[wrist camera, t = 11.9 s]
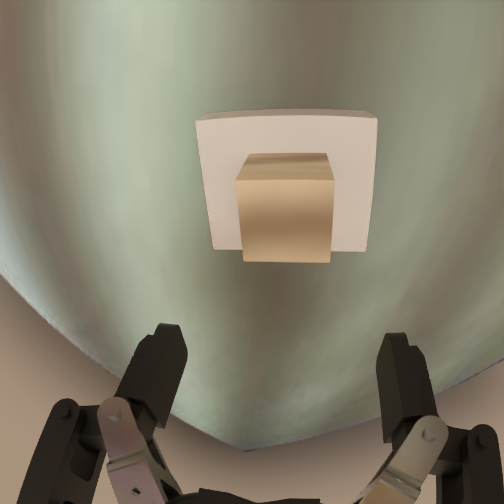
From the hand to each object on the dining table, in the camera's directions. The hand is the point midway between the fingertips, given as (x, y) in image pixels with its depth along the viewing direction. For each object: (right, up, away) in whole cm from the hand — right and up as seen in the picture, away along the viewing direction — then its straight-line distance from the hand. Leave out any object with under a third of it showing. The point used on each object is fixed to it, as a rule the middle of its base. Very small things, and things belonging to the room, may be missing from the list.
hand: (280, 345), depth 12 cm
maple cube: (+2, +9, +13) cm, 16 cm away
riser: (+2, +11, +17) cm, 20 cm away
